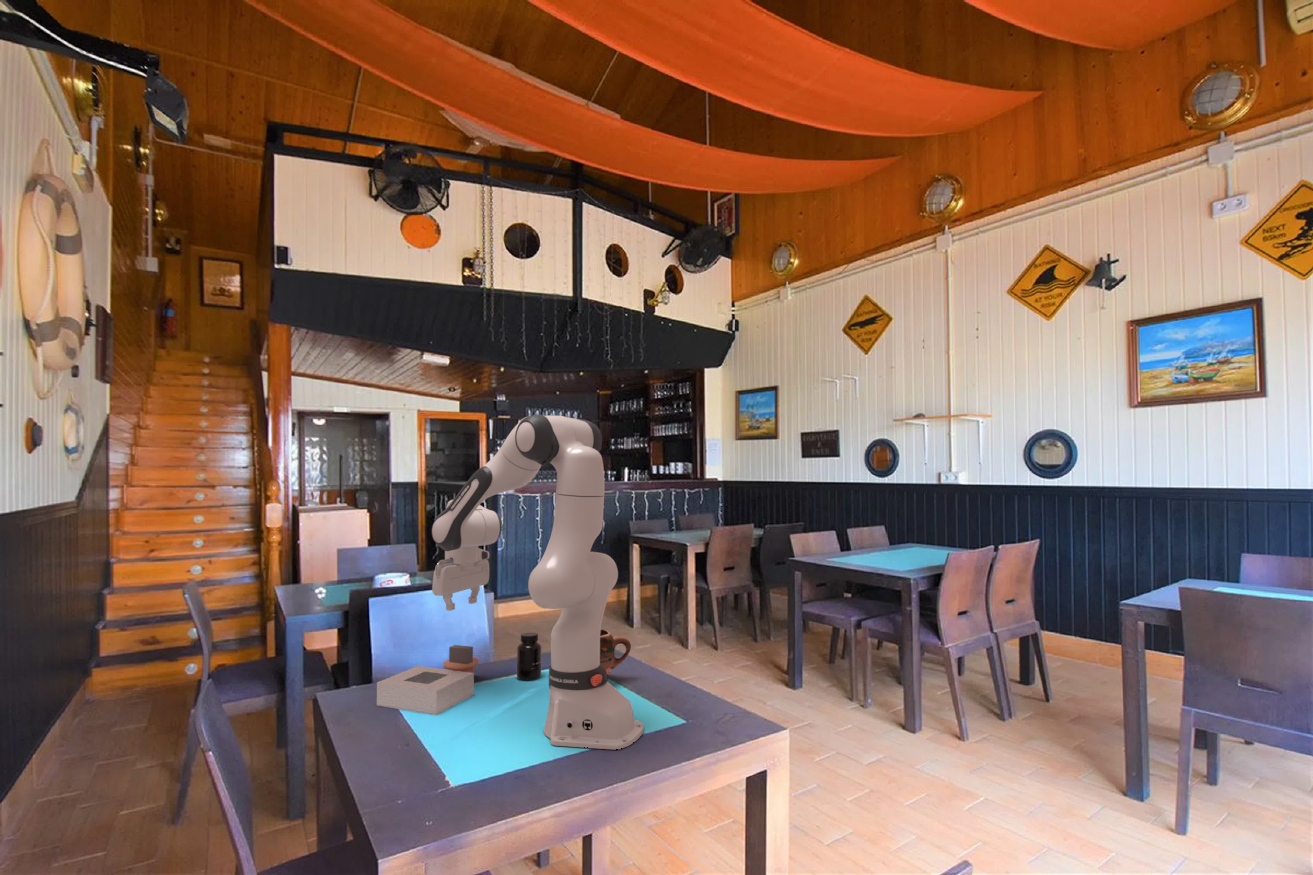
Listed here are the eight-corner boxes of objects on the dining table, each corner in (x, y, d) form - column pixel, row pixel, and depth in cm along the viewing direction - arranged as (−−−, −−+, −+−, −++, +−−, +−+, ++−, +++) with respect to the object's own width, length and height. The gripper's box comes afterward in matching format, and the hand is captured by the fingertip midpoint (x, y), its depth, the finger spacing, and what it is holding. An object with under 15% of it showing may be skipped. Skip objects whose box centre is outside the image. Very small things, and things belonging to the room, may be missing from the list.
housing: (473, 700, 163) (473, 672, 163) (436, 721, 149) (436, 690, 150) (417, 692, 169) (417, 665, 169) (376, 711, 156) (376, 682, 156)
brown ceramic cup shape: (622, 671, 185) (622, 622, 186) (637, 684, 174) (637, 632, 175) (554, 681, 177) (554, 630, 178) (565, 695, 166) (565, 640, 167)
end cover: (485, 681, 177) (485, 644, 178) (463, 692, 169) (463, 652, 169) (458, 678, 181) (458, 641, 181) (435, 688, 172) (436, 649, 173)
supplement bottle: (538, 681, 177) (538, 637, 178) (514, 681, 178) (514, 637, 178) (543, 673, 184) (543, 631, 185) (519, 673, 184) (519, 631, 185)
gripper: (445, 561, 166) (445, 615, 165) (493, 551, 185) (493, 600, 184) (426, 560, 168) (426, 613, 167) (475, 551, 187) (475, 599, 186)
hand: (461, 606), depth 176 cm, fingers open, 8 cm apart
